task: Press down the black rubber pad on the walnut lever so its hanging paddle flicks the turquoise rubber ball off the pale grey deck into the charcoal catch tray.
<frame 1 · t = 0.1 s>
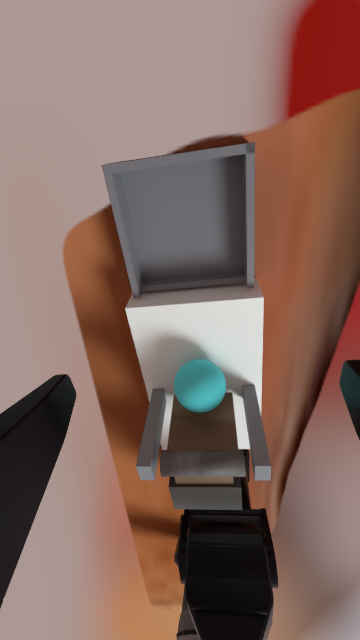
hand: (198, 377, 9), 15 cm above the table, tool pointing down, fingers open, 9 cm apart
ball: (199, 385, 22), point 5 cm above the table, touching deck
lever: (204, 446, 23), point 7 cm above the table, hinge at 0.0°
deck: (203, 366, 28), on the table
catch tray: (186, 223, 21), on the table
beverage cup: (204, 534, 47), on the table
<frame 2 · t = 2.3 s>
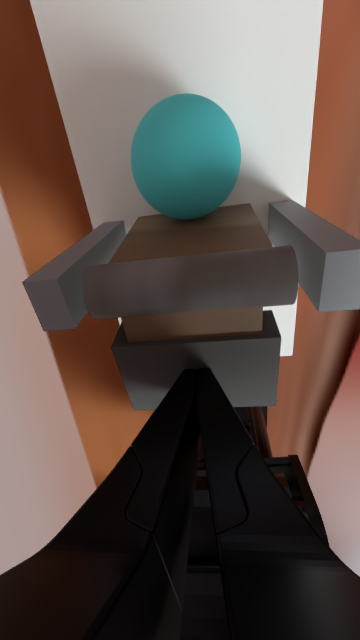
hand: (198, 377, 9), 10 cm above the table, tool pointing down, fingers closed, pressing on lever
ball: (185, 162, 11), point 5 cm above the table, touching deck
lever: (196, 294, 11), point 7 cm above the table, hinge at -4.5°, touching gripper
deck: (197, 214, 17), on the table
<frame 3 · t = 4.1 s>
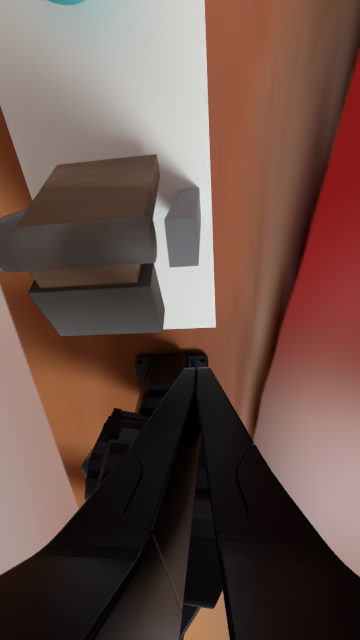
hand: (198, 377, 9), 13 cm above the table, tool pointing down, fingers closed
lever: (107, 243, 14), point 7 cm above the table, hinge at -20.4°
deck: (134, 200, 19), on the table
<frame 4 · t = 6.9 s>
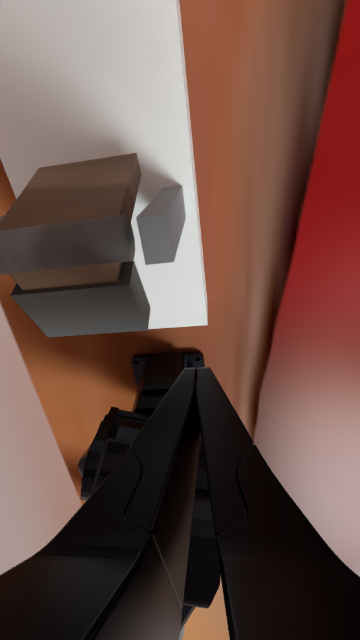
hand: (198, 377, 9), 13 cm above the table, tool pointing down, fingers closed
lever: (90, 243, 14), point 7 cm above the table, hinge at -20.7°
deck: (122, 201, 19), on the table
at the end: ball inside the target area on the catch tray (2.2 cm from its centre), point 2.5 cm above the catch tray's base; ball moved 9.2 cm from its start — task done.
